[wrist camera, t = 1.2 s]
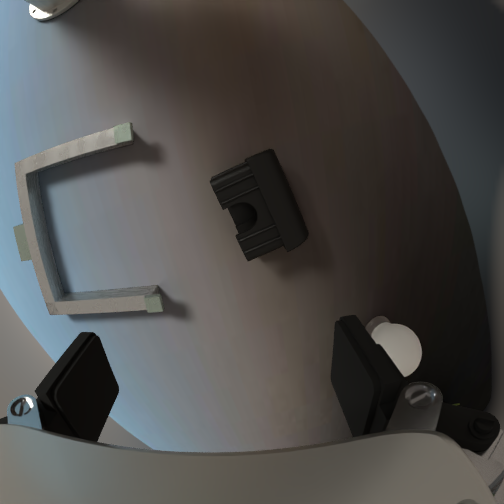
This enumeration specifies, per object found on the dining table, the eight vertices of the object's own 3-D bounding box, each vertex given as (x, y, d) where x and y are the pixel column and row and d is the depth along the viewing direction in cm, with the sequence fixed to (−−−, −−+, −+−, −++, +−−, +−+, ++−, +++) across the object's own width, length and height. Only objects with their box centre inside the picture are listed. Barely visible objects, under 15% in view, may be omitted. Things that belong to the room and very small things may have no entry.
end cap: (301, 226, 35) (315, 240, 29) (248, 250, 36) (250, 269, 29) (268, 149, 32) (276, 145, 26) (212, 174, 33) (206, 176, 26)
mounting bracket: (16, 166, 30) (0, 168, 26) (140, 126, 30) (129, 122, 27) (48, 306, 36) (36, 317, 33) (169, 297, 37) (162, 311, 33)
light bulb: (363, 351, 41) (391, 397, 31) (351, 320, 39) (382, 366, 29) (399, 330, 41) (434, 371, 30) (390, 298, 39) (429, 336, 28)
